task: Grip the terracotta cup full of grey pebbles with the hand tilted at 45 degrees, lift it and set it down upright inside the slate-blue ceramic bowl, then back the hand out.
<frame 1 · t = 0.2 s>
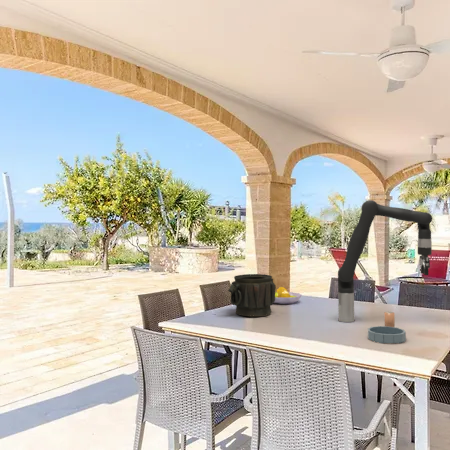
hand: (424, 274, 266), 29 cm above the table, fingers open, 8 cm apart
vessel: (253, 314, 300), on the table
fruit bowl: (282, 302, 340), on the table
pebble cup: (389, 330, 250), on the table
bowl: (386, 339, 233), on the table
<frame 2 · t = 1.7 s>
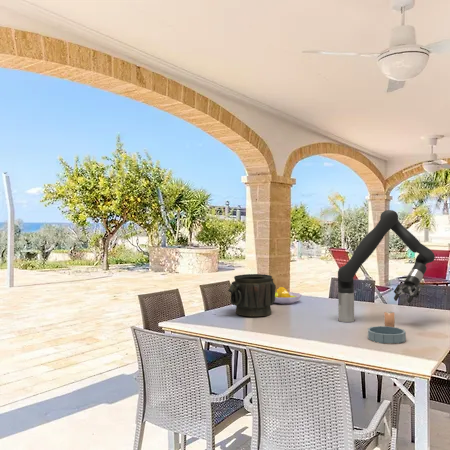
hand: (401, 301, 255), 15 cm above the table, fingers open, 8 cm apart
nothing on the table moved.
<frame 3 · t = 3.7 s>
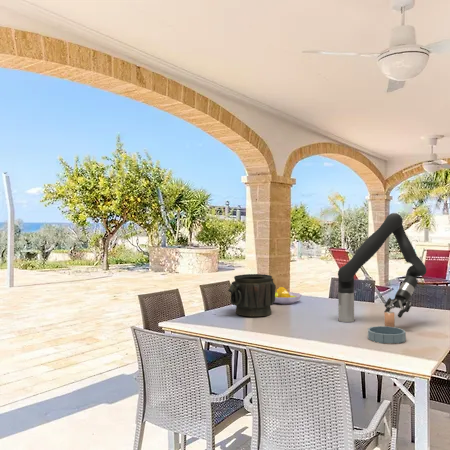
hand: (392, 315, 251), 8 cm above the table, fingers open, 8 cm apart
nothing on the table moved.
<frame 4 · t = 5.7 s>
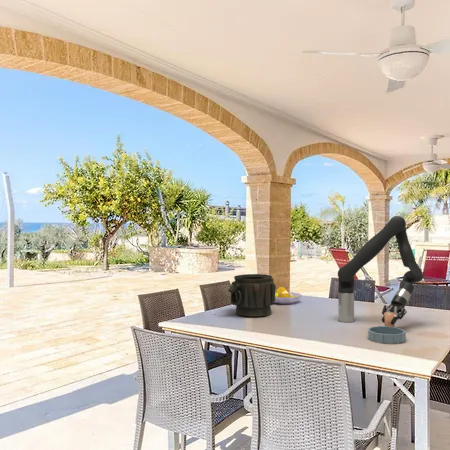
hand: (387, 322, 248), 5 cm above the table, fingers closed on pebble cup, 5 cm apart
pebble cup: (389, 330, 250), on the table, touching gripper
everything else where it was.
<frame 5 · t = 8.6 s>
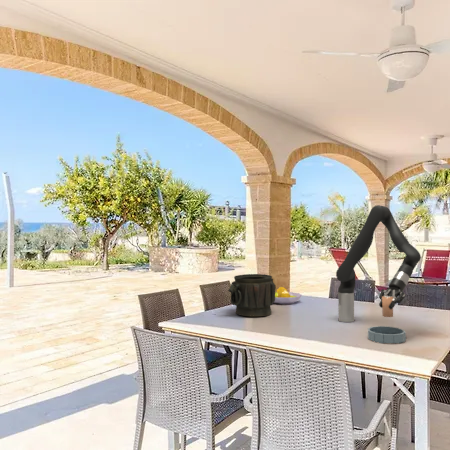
hand: (385, 307, 233), 16 cm above the table, fingers closed on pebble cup, 5 cm apart
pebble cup: (387, 316, 234), point 11 cm above the table, touching gripper
everything else where it was.
when the fingers open (7 cm above the table, at t = 11.4 s): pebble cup drops 1 cm, resting on bowl.
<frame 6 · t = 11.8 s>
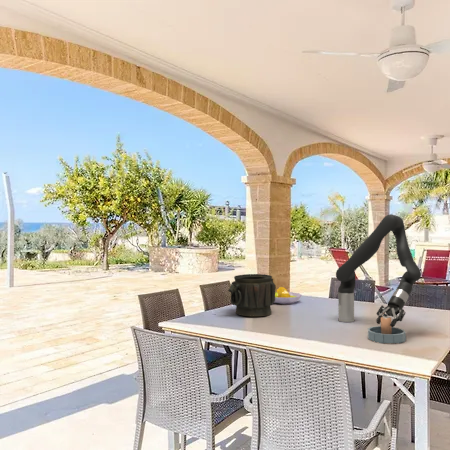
hand: (384, 324, 232), 8 cm above the table, fingers open, 8 cm apart
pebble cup: (386, 337, 233), point 1 cm above the table, touching bowl
everything else where it was.
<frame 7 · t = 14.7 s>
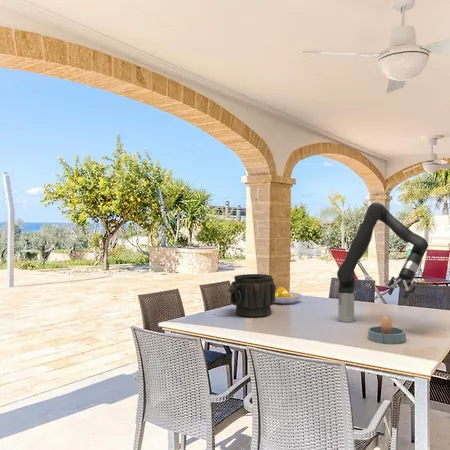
hand: (396, 296, 243), 20 cm above the table, fingers open, 8 cm apart
nothing on the table moved.
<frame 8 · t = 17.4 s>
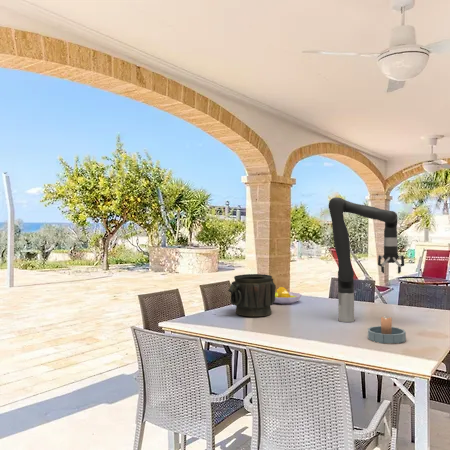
hand: (391, 273, 262), 30 cm above the table, fingers open, 8 cm apart
nothing on the table moved.
at the end: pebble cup inside the target area on the bowl (0.1 cm from its centre), point 1.0 cm above the bowl's base; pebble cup tilted 0°; the gripper is holding nothing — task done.
